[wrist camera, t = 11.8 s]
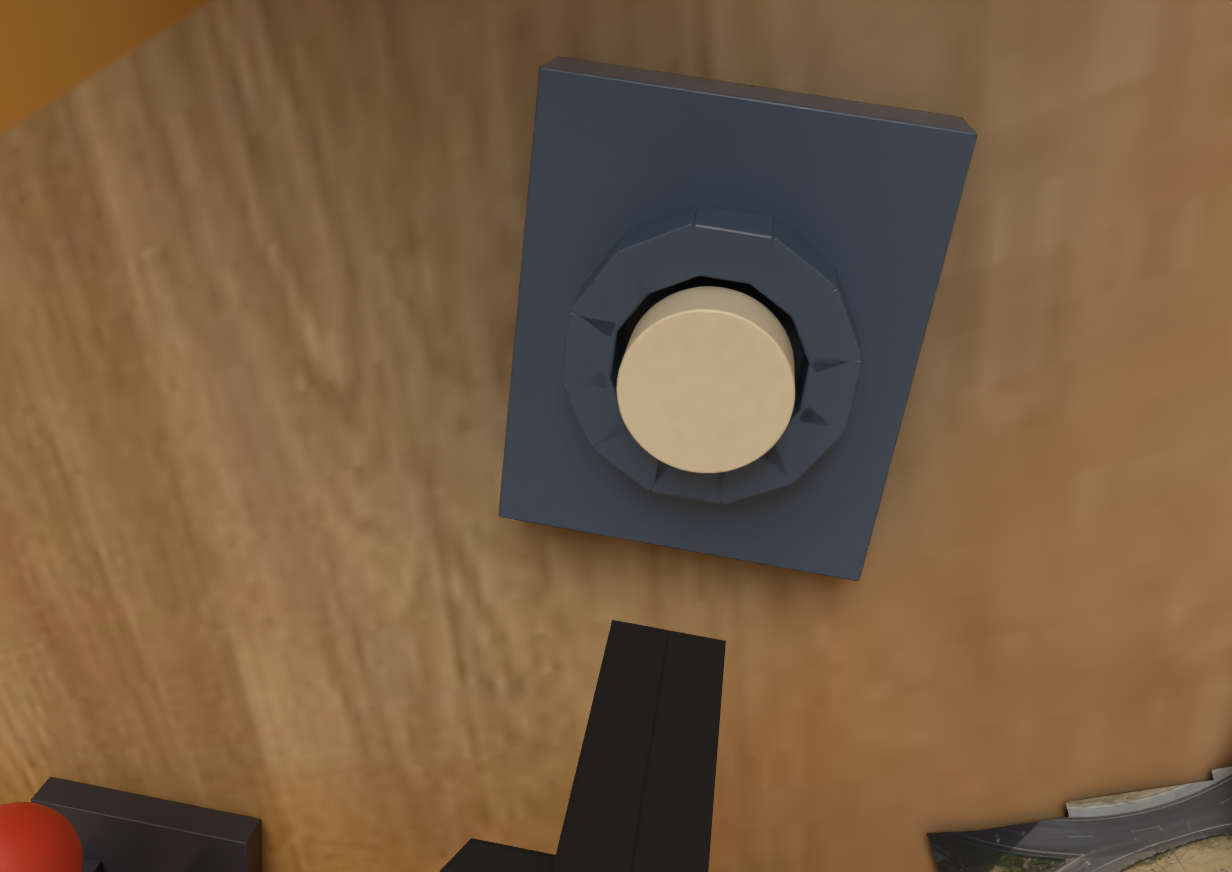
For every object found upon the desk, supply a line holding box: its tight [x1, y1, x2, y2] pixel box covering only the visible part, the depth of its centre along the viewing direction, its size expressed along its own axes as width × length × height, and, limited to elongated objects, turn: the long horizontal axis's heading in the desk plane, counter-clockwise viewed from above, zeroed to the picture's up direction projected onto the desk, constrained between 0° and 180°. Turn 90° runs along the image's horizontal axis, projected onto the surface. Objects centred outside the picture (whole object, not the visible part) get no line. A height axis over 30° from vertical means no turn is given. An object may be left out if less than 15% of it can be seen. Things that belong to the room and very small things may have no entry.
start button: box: [616, 286, 795, 473], centre depth 26 cm, size 4×4×2 cm
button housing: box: [498, 56, 977, 581], centre depth 28 cm, size 12×10×4 cm
